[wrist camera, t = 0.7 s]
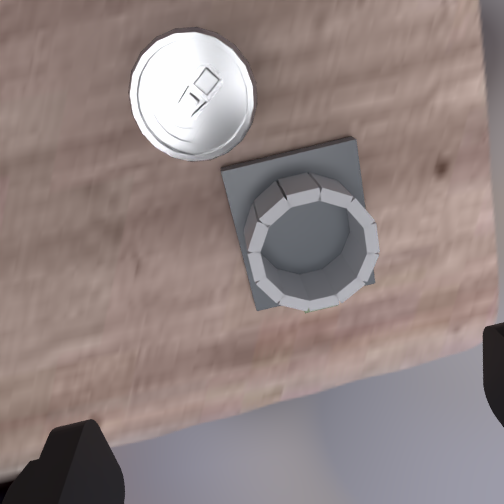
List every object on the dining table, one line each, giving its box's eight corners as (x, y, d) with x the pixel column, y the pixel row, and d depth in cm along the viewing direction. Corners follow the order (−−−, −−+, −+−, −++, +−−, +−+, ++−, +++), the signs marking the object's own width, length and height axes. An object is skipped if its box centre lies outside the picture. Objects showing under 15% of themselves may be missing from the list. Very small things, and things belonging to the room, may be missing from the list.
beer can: (194, 18, 28) (180, -9, 17) (260, 80, 29) (287, 92, 18) (141, 89, 29) (96, 107, 18) (207, 144, 31) (203, 192, 20)
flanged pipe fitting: (220, 167, 31) (221, 187, 27) (351, 136, 31) (375, 150, 26) (255, 303, 36) (261, 340, 31) (370, 276, 36) (394, 309, 31)
